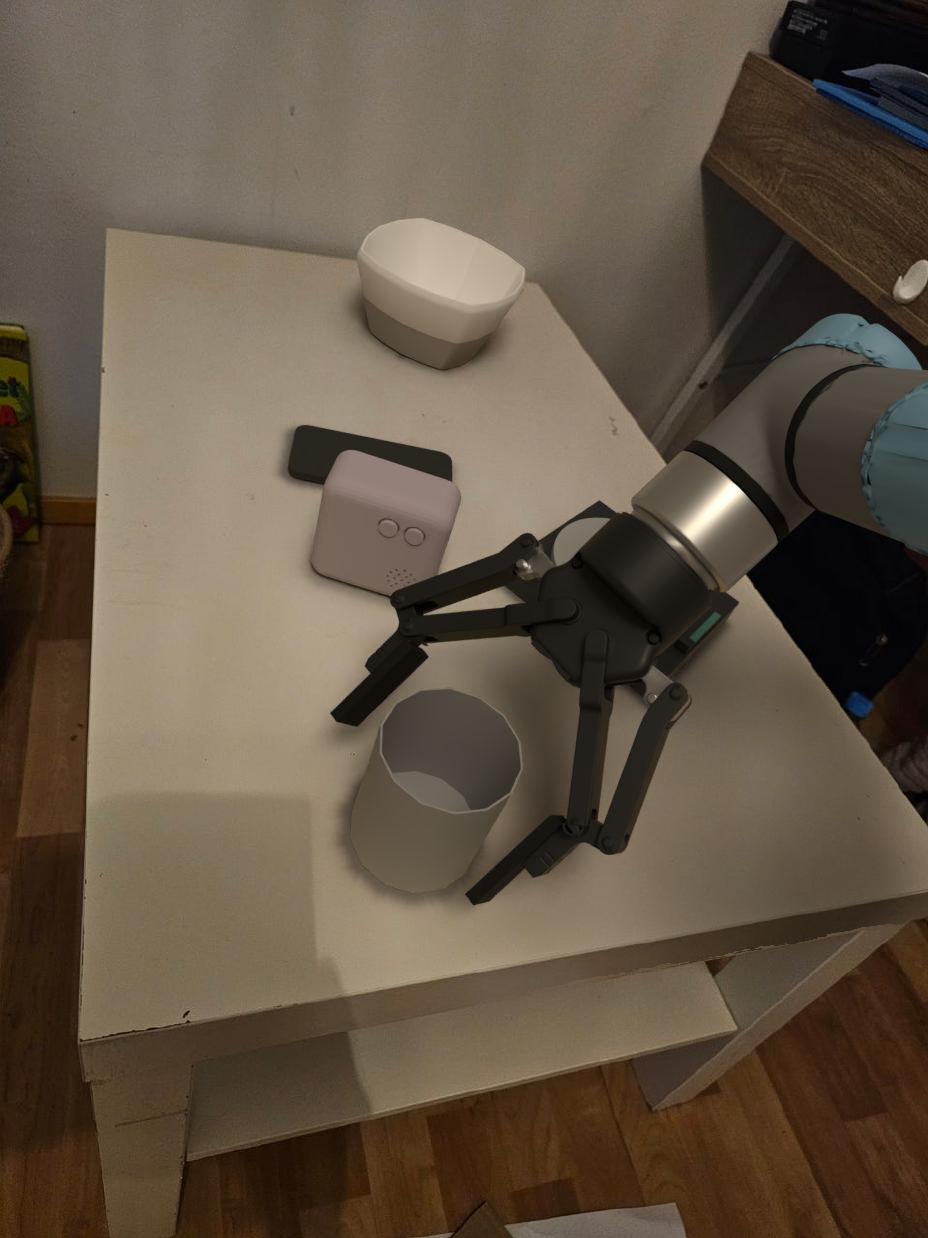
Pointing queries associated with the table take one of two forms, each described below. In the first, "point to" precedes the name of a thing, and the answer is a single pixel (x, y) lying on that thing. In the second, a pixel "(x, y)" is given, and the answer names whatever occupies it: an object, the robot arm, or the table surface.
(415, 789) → the cup
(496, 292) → the bowl
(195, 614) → the table surface
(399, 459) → the phone
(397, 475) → the electronic device
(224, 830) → the table surface
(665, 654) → the scale
